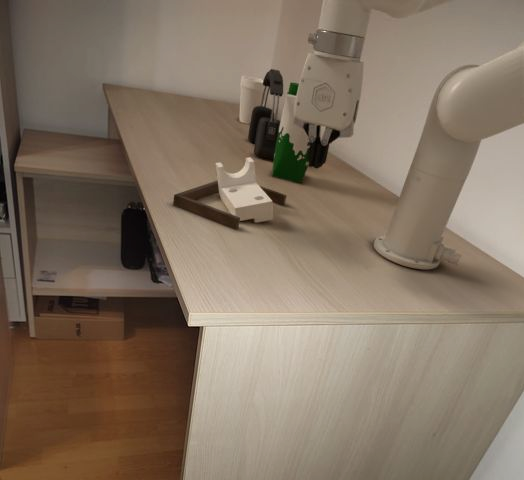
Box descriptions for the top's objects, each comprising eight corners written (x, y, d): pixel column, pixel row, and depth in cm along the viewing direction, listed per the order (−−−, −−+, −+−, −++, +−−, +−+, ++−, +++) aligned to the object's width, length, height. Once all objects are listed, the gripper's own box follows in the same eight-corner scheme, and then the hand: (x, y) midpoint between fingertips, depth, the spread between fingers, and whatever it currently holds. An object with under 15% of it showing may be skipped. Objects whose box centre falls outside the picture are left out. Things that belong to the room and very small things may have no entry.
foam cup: (230, 117, 167) (236, 74, 160) (255, 120, 171) (262, 78, 164) (241, 124, 161) (248, 80, 153) (266, 127, 165) (274, 84, 157)
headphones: (278, 162, 130) (295, 78, 118) (254, 158, 128) (269, 73, 117) (266, 141, 147) (280, 66, 136) (246, 138, 146) (258, 62, 135)
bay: (284, 204, 103) (286, 195, 102) (235, 229, 86) (237, 218, 85) (229, 184, 107) (231, 175, 105) (173, 205, 90) (173, 194, 89)
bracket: (219, 200, 100) (215, 163, 95) (253, 194, 101) (250, 157, 96) (236, 226, 90) (233, 186, 85) (273, 219, 92) (271, 179, 87)
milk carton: (274, 167, 125) (291, 80, 114) (308, 176, 124) (329, 89, 113) (267, 175, 118) (285, 83, 106) (303, 185, 117) (325, 93, 106)
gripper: (286, 38, 77) (269, 159, 87) (377, 55, 72) (348, 181, 83) (304, 40, 82) (286, 153, 93) (389, 56, 78) (360, 173, 88)
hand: (315, 166), depth 88 cm, fingers closed
